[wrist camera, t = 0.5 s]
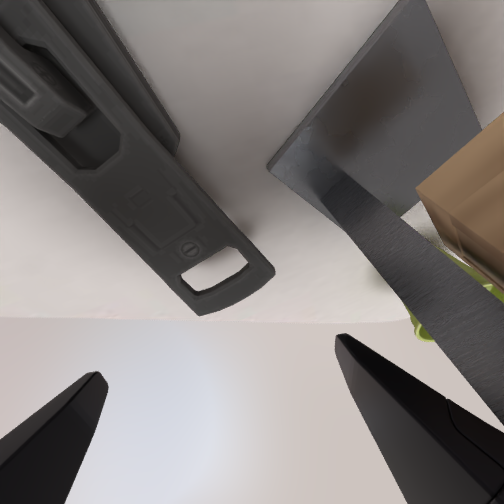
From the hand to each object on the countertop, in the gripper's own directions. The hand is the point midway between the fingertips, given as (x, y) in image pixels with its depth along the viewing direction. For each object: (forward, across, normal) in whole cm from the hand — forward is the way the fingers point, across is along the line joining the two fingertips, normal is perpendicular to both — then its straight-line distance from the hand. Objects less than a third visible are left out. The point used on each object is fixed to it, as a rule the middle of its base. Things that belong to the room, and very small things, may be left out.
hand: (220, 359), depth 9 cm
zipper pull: (+14, -5, +7) cm, 16 cm away
